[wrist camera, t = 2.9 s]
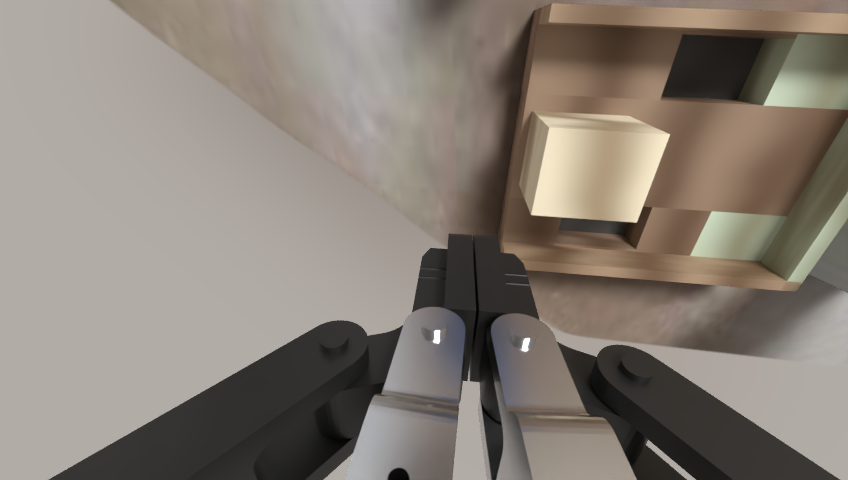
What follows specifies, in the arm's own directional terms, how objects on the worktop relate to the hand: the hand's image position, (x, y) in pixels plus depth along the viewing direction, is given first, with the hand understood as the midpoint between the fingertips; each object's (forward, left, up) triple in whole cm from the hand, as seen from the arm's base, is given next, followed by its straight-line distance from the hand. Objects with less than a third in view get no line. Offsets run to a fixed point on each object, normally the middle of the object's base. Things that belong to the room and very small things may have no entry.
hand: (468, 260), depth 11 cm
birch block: (+7, 0, -15) cm, 16 cm away
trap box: (+14, 0, -17) cm, 22 cm away
